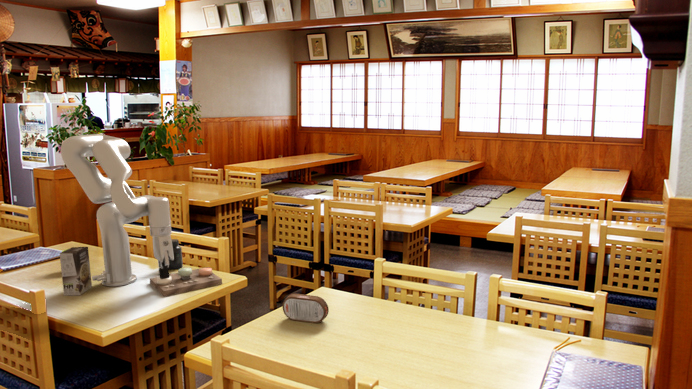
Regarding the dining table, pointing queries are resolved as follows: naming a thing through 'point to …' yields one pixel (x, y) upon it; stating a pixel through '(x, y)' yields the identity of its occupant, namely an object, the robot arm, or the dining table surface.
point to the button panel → (186, 283)
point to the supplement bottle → (176, 256)
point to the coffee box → (75, 270)
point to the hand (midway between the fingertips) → (164, 277)
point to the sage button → (185, 273)
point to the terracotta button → (205, 271)
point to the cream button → (164, 280)
